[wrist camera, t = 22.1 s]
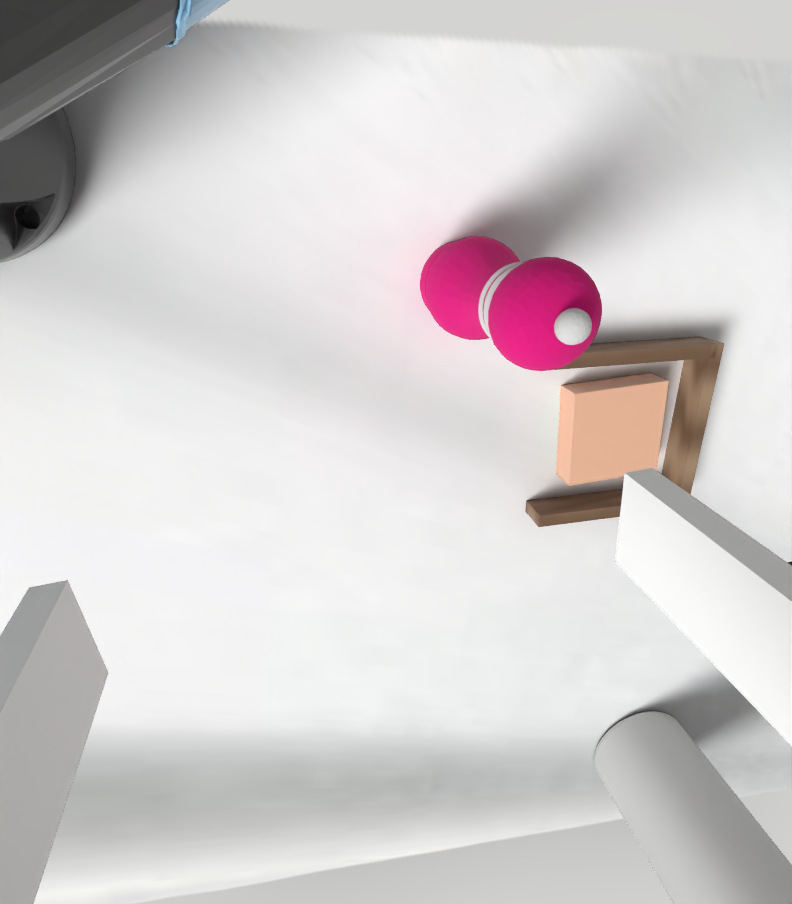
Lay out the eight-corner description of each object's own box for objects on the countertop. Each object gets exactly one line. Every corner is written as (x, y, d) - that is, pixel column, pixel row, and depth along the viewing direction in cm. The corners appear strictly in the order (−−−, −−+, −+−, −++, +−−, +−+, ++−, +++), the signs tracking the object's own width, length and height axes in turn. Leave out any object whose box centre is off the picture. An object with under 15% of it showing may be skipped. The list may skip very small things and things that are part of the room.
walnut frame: (540, 347, 48) (556, 355, 45) (700, 336, 51) (724, 343, 48) (525, 511, 54) (538, 527, 52) (667, 494, 57) (687, 507, 55)
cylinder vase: (674, 760, 76) (841, 988, 54) (591, 786, 75) (727, 1032, 52) (680, 696, 71) (868, 920, 49) (590, 724, 70) (742, 967, 47)
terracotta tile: (558, 384, 50) (575, 393, 47) (648, 371, 52) (669, 380, 49) (554, 472, 54) (569, 485, 51) (637, 458, 55) (656, 471, 53)
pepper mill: (461, 344, 46) (580, 428, 28) (395, 292, 44) (479, 348, 26) (517, 272, 45) (678, 312, 27) (452, 213, 42) (583, 214, 24)
